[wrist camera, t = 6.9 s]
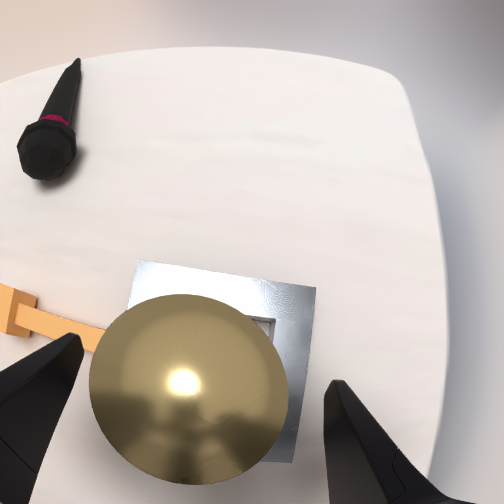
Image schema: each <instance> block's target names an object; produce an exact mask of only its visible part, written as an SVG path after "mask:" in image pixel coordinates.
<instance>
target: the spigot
mask: <svg viewBox="0 0 504 504" xmlns="http://www.w3.org/2000/svg"><path fill="white" fill-rule="evenodd" d="M89 392H90V399H91V404H92V408H93V411H94V414H95V417H96V420H97V422H98V424H99V426H100V428H101V430H102V432H103V433H104V435H105V436H106V438H107V439H108V441H109V442H110V443H111V445H112V446H113V447H114V448H115V449H116V451H117V452H119V453H120V454H121V455H122V456H123V457H124V458H125V459H126V460H127V461H129V462H130V463H131V464H133V465H134V466H135V467H137V468H139V469H140V470H142V471H144V472H146V473H147V474H150V475H152V476H154V477H157V478H159V479H162V480H166V481H169V482H173V483H179V484H188V485H202V484H212V483H216V482H221V481H225V480H227V479H230V478H233V477H235V476H237V475H239V474H241V473H243V472H245V471H247V470H248V469H250V468H251V467H252V466H254V465H255V464H257V463H258V462H259V461H260V460H261V459H262V458H263V457H264V456H265V455H266V454H267V453H268V451H269V450H270V449H271V448H272V446H273V445H274V443H275V442H276V440H277V438H278V436H279V435H280V432H281V430H282V427H283V425H284V422H285V418H286V414H287V409H288V383H287V378H286V373H285V369H284V367H283V364H282V361H281V358H280V356H279V354H278V352H277V350H276V348H275V346H274V345H273V344H272V342H271V341H270V339H269V338H268V336H267V335H266V334H265V333H264V332H263V330H262V329H261V328H260V327H259V326H258V325H257V324H256V323H255V322H254V321H252V320H251V319H250V318H249V317H248V316H246V315H245V314H243V313H242V312H240V311H239V310H238V309H236V308H234V307H232V306H230V305H228V304H226V303H224V302H221V301H218V300H216V299H213V298H209V297H205V296H201V295H193V294H170V295H163V296H158V297H155V298H151V299H148V300H145V301H143V302H141V303H139V304H136V305H135V306H133V307H131V308H130V309H128V310H126V311H125V312H124V313H123V314H121V315H120V316H119V317H118V318H117V319H116V320H115V321H114V322H113V323H112V324H111V325H110V326H109V327H108V328H107V330H106V331H105V333H104V334H103V336H102V337H101V339H100V341H99V343H98V345H97V347H96V349H95V352H94V355H93V358H92V362H91V367H90V374H89Z"/></svg>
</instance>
